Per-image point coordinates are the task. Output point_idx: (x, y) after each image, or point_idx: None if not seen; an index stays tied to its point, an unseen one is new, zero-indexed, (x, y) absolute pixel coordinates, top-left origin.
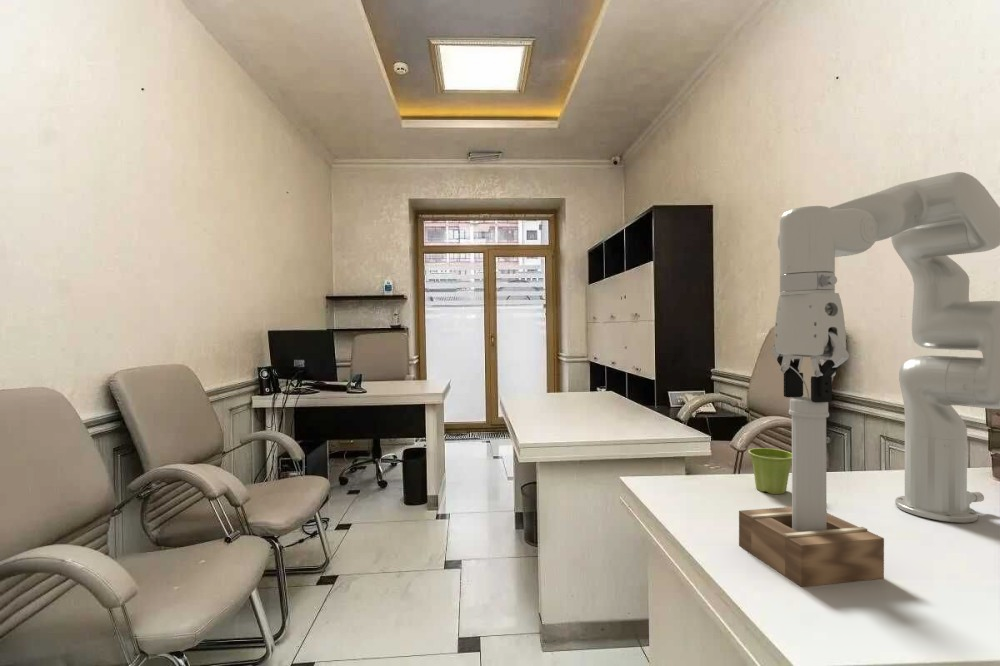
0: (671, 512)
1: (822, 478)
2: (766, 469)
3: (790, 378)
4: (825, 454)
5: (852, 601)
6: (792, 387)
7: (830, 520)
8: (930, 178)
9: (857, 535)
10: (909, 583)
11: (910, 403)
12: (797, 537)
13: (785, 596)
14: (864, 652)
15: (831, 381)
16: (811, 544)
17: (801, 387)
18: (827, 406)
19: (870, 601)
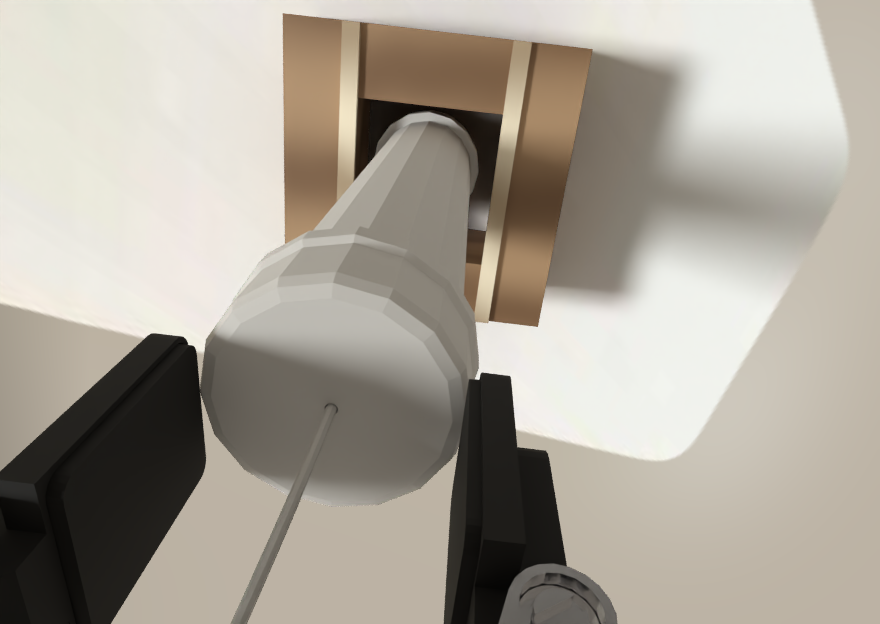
0: (71, 279)
1: (466, 217)
2: None
3: (120, 576)
4: (455, 220)
5: (613, 233)
6: (165, 486)
7: (424, 82)
8: None
9: (546, 115)
10: (617, 2)
11: None
12: (495, 295)
13: (545, 343)
14: (727, 363)
15: (521, 499)
16: (541, 297)
17: (155, 401)
18: (451, 325)
19: (630, 195)
